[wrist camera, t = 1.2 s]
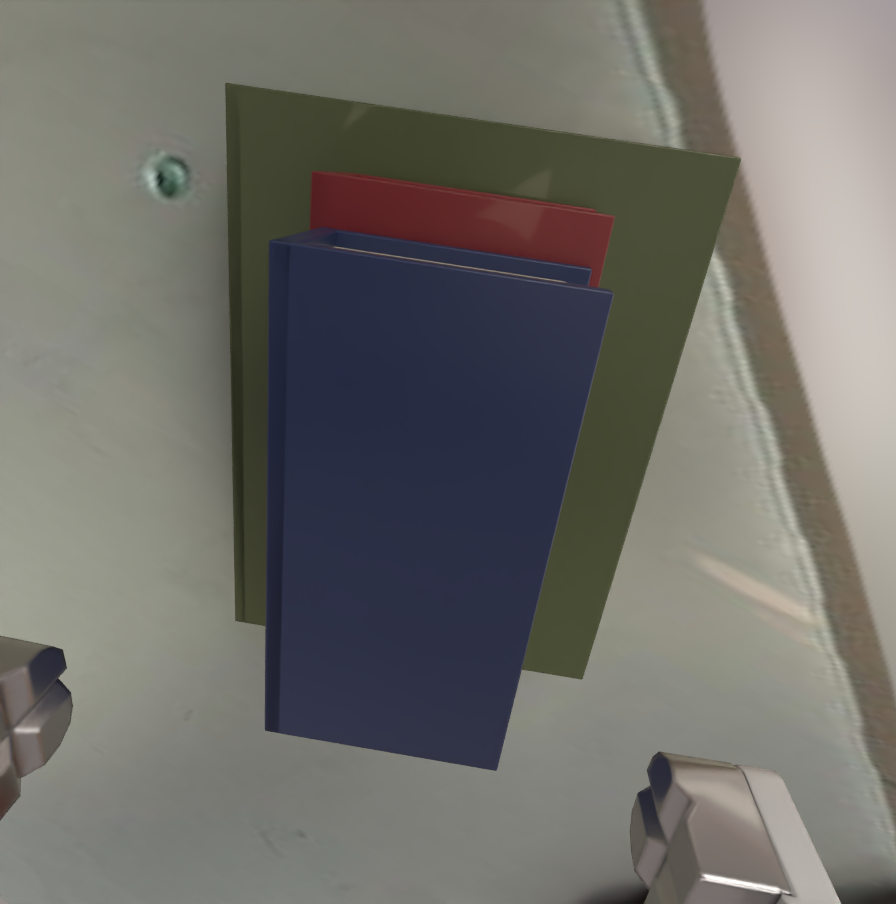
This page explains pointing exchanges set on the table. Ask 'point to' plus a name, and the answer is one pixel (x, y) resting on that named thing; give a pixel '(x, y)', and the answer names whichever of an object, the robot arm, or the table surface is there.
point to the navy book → (414, 482)
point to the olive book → (504, 173)
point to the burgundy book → (461, 218)
